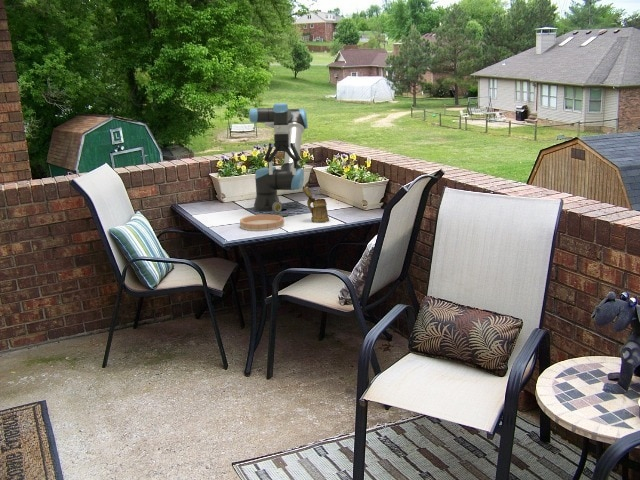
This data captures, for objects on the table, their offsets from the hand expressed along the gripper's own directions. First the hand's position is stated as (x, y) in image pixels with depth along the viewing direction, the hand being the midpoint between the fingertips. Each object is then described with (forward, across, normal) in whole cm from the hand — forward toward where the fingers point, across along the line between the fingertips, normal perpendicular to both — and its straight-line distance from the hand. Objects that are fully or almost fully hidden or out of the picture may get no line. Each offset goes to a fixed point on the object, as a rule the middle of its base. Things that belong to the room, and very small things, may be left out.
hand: (282, 174), depth 366 cm
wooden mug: (+24, +19, 0) cm, 30 cm away
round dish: (+25, -4, -17) cm, 30 cm away
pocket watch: (+23, -5, +6) cm, 24 cm away
